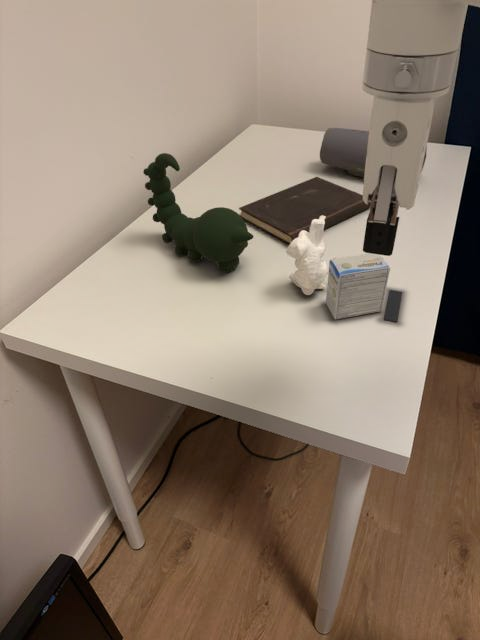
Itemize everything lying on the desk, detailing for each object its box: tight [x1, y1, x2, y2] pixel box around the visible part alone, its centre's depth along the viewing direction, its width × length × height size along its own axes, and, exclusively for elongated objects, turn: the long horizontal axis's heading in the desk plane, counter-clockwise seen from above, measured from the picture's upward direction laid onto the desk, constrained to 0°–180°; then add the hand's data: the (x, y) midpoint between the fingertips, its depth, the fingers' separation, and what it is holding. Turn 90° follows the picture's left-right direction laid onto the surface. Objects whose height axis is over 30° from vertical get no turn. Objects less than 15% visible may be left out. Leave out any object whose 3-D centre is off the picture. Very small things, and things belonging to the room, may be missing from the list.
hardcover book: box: [238, 176, 371, 246], centre depth 102 cm, size 16×23×2 cm
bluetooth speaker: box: [319, 127, 428, 178], centre depth 113 cm, size 23×9×10 cm, turn 58°
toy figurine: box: [142, 152, 255, 273], centre depth 85 cm, size 9×19×25 cm
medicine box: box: [325, 253, 391, 320], centre depth 74 cm, size 8×4×9 cm, turn 102°
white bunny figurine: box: [285, 215, 329, 296], centre depth 78 cm, size 8×7×12 cm
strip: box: [383, 289, 403, 323], centre depth 77 cm, size 2×8×1 cm, turn 160°
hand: (377, 250), depth 54 cm, fingers closed
